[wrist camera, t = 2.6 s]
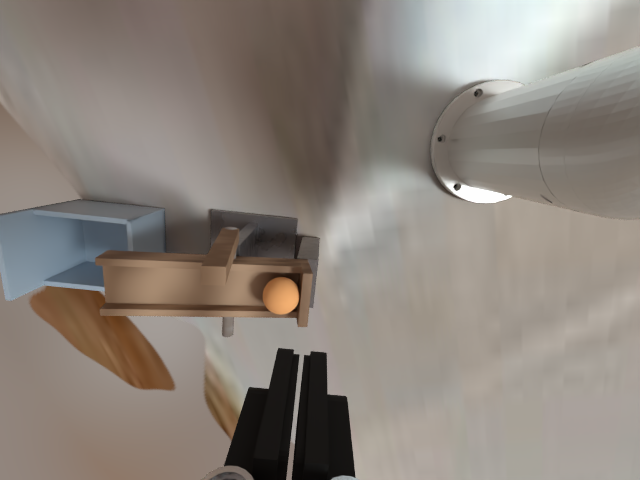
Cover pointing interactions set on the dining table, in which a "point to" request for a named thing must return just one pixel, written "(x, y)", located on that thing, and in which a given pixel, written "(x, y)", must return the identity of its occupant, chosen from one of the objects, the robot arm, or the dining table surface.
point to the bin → (72, 242)
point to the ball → (281, 295)
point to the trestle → (267, 238)
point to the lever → (199, 283)
